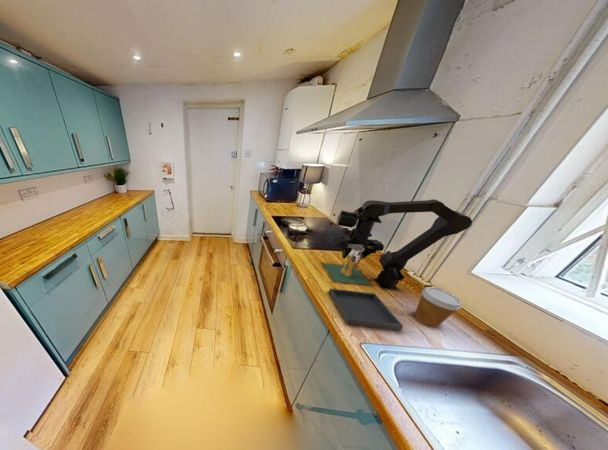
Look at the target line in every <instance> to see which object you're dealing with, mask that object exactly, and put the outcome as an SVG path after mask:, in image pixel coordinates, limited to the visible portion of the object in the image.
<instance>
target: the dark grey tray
mask: <svg viewBox="0 0 608 450" xmlns="http://www.w3.org/2000/svg"><path fill="white" fill-rule="evenodd" d="M327 292H328V295H329V296H330V298H331V300H332V302H333V304H334V306H335V307H336V309H337V312H339V314H340V316H341V317H342V320H343V321H344V323H345V324H346V325H349V326H358V327H366V328H374V329H381V330H388V331H395V332H396V331H397V332H401V331H402V329H403V327H404V325H403V324H402V323H401V322H400V321H399V319H397V318H396V316H395V315H394V314H393V313H392V311H391V310H390V309H389V308H388V307H387V305H385V303H384V302H383V301H382V300H381V299H380V297H379V296H378V295H377V294H376V293H375V292H366V291H365V292H364V291H363V292H362V291H357V290H356V291H355V290H347V289H340V288H339V289H338V288H329V290H328V291H327Z"/></svg>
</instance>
